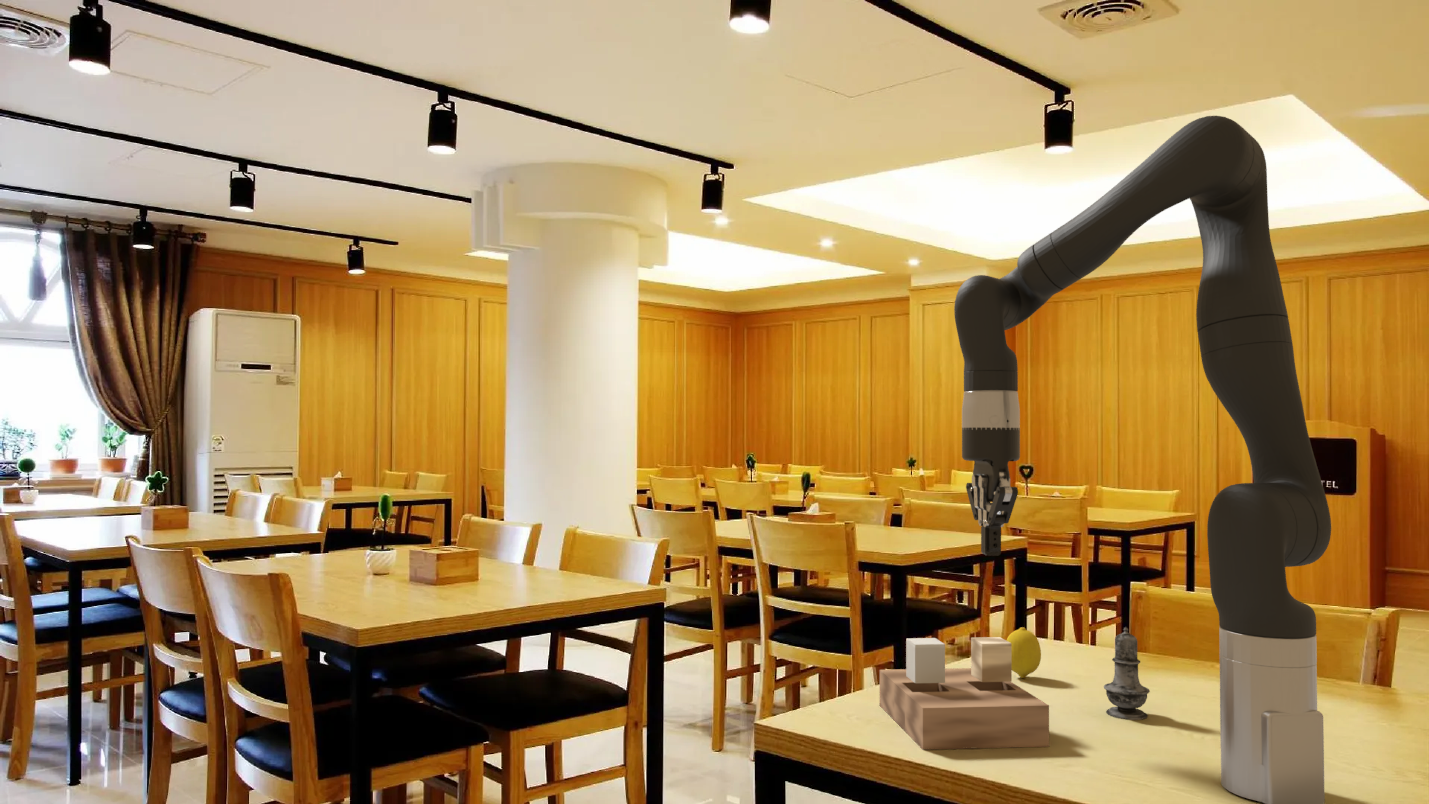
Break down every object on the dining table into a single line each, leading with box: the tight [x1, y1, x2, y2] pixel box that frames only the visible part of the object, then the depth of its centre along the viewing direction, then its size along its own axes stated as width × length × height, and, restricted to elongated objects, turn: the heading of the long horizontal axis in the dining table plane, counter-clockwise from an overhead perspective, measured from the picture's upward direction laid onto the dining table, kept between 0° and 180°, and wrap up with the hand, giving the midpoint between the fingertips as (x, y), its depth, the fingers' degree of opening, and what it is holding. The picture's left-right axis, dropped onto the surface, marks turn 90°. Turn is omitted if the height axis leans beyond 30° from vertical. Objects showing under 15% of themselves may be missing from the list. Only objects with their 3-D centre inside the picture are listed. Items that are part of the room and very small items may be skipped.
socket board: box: [879, 667, 1050, 750], centre depth 132 cm, size 20×16×5 cm
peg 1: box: [905, 637, 946, 683], centre depth 131 cm, size 4×4×5 cm
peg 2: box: [970, 636, 1013, 683], centre depth 132 cm, size 4×4×5 cm
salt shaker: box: [1103, 626, 1151, 721], centre depth 137 cm, size 6×6×12 cm
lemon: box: [1005, 626, 1042, 679], centre depth 157 cm, size 6×6×8 cm
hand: (991, 554), depth 133 cm, fingers closed
